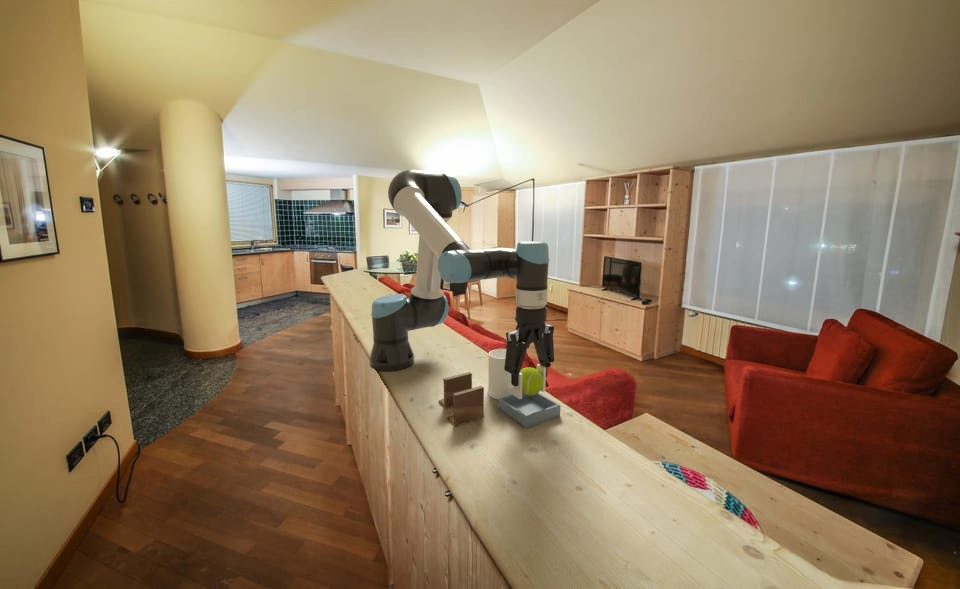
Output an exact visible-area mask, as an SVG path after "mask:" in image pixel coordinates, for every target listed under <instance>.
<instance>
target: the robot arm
mask: <svg viewBox="0 0 960 589" xmlns="http://www.w3.org/2000/svg"><path fill="white" fill-rule="evenodd" d="M387 193H388V194H387V198H388V201H389V204H390V205H391V207H392V209H393V210H394V211H395V212H396V213H397V214H398V215H399V216H401V217H404V218H405V220H407V222H408V223H409V224H410V225H411V227H412V228H413V229H414V230H415V231H416V233H417V234H418V235H419V237H418V248H417V249H418V250H417V260H416V261H417V263H416V272H415V273H416V274H415V286H413V287H411V289H410V296H409V297H407V295H405V294H403V293H395V294H388V295H382V296H380V297H378V298H376V299H375V300H374V301H373V302H372V303H371V314H370V316H371V322H372V337H373V345H372V348H371V352H370V356H369V367H370V368H371V369H373V370H377V371H381V372H382V371H383V372H393V371H399V370H404V369H407V368H409V367H410V366H412V365H414V363H415V354H414V352H413V349H412V346H411V344H410V340H409V332H410V331H415V330H419V329H425V328H432V327H436V326H439V325H441V324H443V323H444V322H445V321H446V319H447V318H448V315H449V310H450V306H449V304H448V302H449V300H448V299H447V298H448V297H447V296H446V295H445V294H444V291H443V290H442V289H441V281H444V283H449V284H463V283H467V282H474V281H483V280H490V279H498V278H499V279H500V278H509V279H513V280H514V279H516V284H515V285H516V286H515V304H516V305H517V306H515V321H516V327H515V330H513V331H511V332H510V331H507V332H506V333H505V338H506V348H505V349H506V357H505V366H504V370H505V371H507V372H509V373H511V384H512V385H513V395H514V396H515V397H517V398H518V399H522V377H523V374H522V373H520V370H521V369H522V366H523V364H524V361H525V358H526V354H527V350H528V349H529V348H530V346H531V344H532V343H533V345H534V349H535V351H536V352H535V353H536V356H537V359H538V362H539V363H538V364H536V369H537V370H538V371H539V372H540V373H541V375H542V377H543V387H542V389H541V390H540V392H546V384H547V383H546V380H547V377H548V368H551V366H552V364H551V363H554V362H555V349H554V332H555V326H554V325H551V324H547V323H546V322H547V317H548V316H547V315H548V308H547V304H548V286H549V285H548V280H549V279H548V278H549V262H550V257H549V245H548V243H547V242H545V241H534V240H531V241H530V240H529V241H527V240H526V241H524V240H523V241H519V242H517V245H516V248H510V247H503V246H492V247H489V248H482V249H481V248H480V249H471V247H469V246H468V244H466V243H465V242H464V240H463V239H462V238H461V237H460V236H459V235H458V234H457V233H456V232H455V230H454V229H452V227H451V226H450V225H449V224H448V223H447V222H448V221H449V220H451V219H452V217H453V211H456V210H457V209H458V208H459V207H460V206H461V203H462V199H463V198H462V196H463V193H462V189H461V185H460V183H459V181H458V178H457V177H456V176H454V175H453V174H452V173H447V172H443V171H435V170H434V171H433V170H430V171H429V170H417V169H405V170H403V171H401V172H399V173H397V174H396V175H395V176H394V177H392V180H391V182H390V183H389V186H388V190H387Z"/></svg>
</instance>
